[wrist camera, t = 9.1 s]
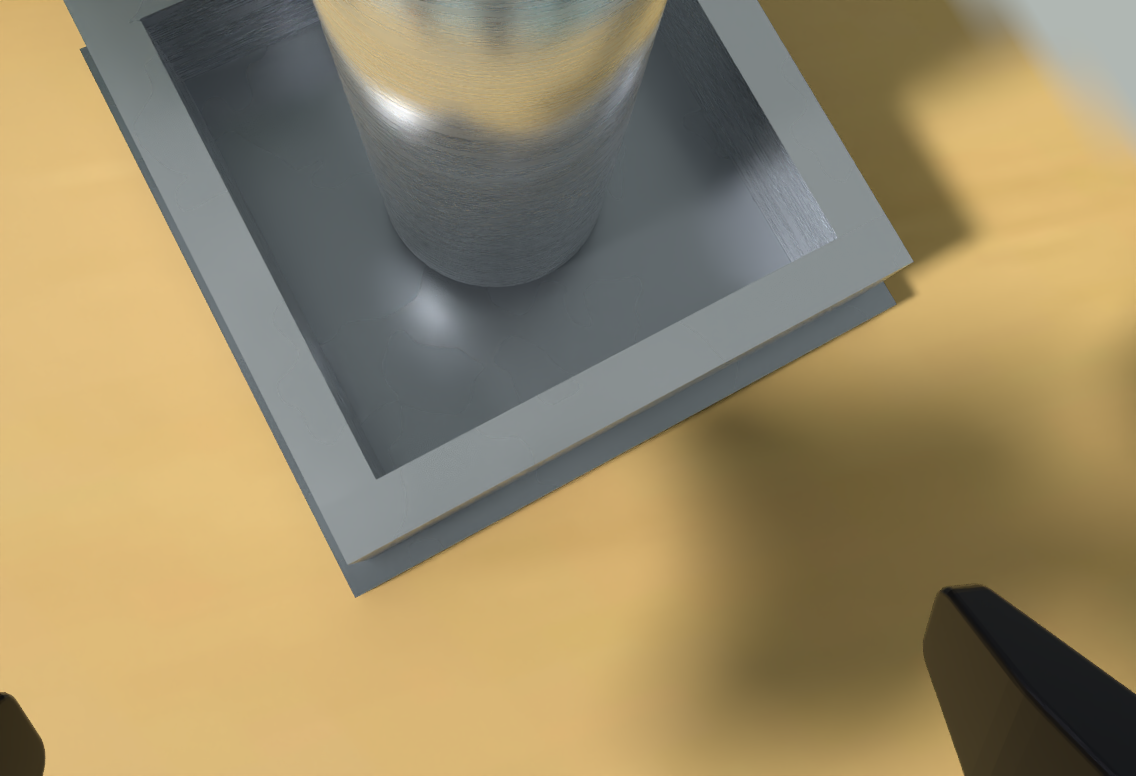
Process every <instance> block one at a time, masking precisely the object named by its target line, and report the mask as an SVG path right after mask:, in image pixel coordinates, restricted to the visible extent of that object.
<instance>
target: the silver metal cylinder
mask: <svg viewBox="0 0 1136 776" xmlns="http://www.w3.org/2000/svg"><path fill="white" fill-rule="evenodd" d="M312 1H313V4H314V6H315V9H316V12H317V15H318V18H319V21H320V23H321V26H322V29H323V32H324V35H325V37H326V40H327V43H328V46H329V49H330V52H331V54H332V57H333V60H334V63H335V66H336V68H337V71H338V74H339V77H340V80H341V83H342V85H343V88H344V91H345V94H346V97H347V99H348V102H349V105H350V108H351V111H352V114H353V116H354V119H355V122H356V125H357V128H358V130H359V133H360V136H361V139H362V142H363V145H364V147H365V150H366V153H367V156H368V159H369V161H370V164H371V167H372V170H373V173H374V176H375V178H376V181H377V184H378V187H379V190H380V192H381V195H382V198H383V201H384V204H385V207H386V209H387V212H388V215H389V217H390V220H391V222H392V224H393V226H394V228H395V230H396V232H397V233H398V235H399V237H400V238H401V239H402V241H403V242H404V243H405V245H406V246H407V247H408V248H409V249H410V250H411V252H412V253H413V254H414V255H415V256H416V257H417V258H419V259H420V260H421V261H422V262H424V263H425V264H426V265H427V266H429V267H430V268H432V269H434V270H435V271H437V272H439V273H440V274H442V275H444V276H447V277H449V278H451V279H454V280H456V281H460V282H463V283H467V284H470V285H477V286H483V287H505V286H514V285H519V284H523V283H528V282H530V281H533V280H536V279H539V278H541V277H543V276H545V275H547V274H549V273H551V272H553V271H555V270H556V269H557V268H559V267H560V266H562V265H563V264H565V263H566V262H567V261H568V260H569V259H570V258H571V257H572V256H574V255H575V254H576V253H577V252H578V250H579V249H580V248H581V247H582V245H583V244H584V243H585V242H586V240H587V238H588V237H589V235H590V234H591V232H592V230H593V228H594V226H595V224H596V221H597V219H598V216H599V213H600V210H601V207H602V204H603V201H604V198H605V194H606V191H607V188H608V185H609V182H610V179H611V176H612V172H613V169H614V166H615V163H616V160H617V157H618V153H619V150H620V147H621V144H622V141H623V138H624V135H625V131H626V128H627V125H628V122H629V119H630V116H631V113H632V109H633V106H634V103H635V100H636V97H637V94H638V91H639V87H640V84H641V81H642V78H643V75H644V72H645V68H646V65H647V62H648V59H649V56H650V53H651V50H652V46H653V43H654V40H655V37H656V34H657V31H658V28H659V24H660V21H661V18H662V15H663V12H664V9H665V6H666V2H667V0H312Z"/></svg>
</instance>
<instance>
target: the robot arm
mask: <svg viewBox="0 0 1136 776" xmlns="http://www.w3.org/2000/svg"><path fill="white" fill-rule="evenodd" d="M923 653H924V658H925V663H926V666H927V669H928V672H929V674H930V677H931V680H932V683H933V686H934V689H935V692H936V695H937V698H938V701H939V703H940V706H941V709H942V712H943V715H944V718H945V721H946V724H947V727H948V729H949V732H950V735H951V738H952V741H953V744H954V747H955V750H956V753H957V755H958V758H959V761H960V764H961V767H962V770H963V773H964V776H1136V694H1135V693H1133V692H1132V691H1131V690H1129V689H1128V688H1126V687H1125V686H1124V685H1122V684H1121V683H1120V682H1118V681H1117V680H1115V679H1114V678H1113V677H1111V676H1110V675H1109V674H1107V673H1106V672H1104V671H1103V670H1102V669H1100V668H1099V667H1097V666H1096V665H1095V664H1093V663H1092V662H1091V661H1089V660H1088V659H1086V658H1085V657H1084V656H1082V655H1081V654H1080V653H1078V652H1077V651H1075V650H1074V649H1073V648H1071V647H1070V646H1068V645H1067V644H1066V643H1064V642H1063V641H1062V640H1060V639H1059V638H1057V637H1056V636H1055V635H1053V634H1052V633H1051V632H1049V631H1048V630H1046V629H1045V628H1044V627H1042V626H1041V625H1039V624H1038V623H1037V622H1035V621H1034V620H1033V619H1031V618H1030V617H1028V616H1027V615H1026V614H1024V613H1023V612H1022V611H1020V610H1019V609H1017V608H1016V607H1015V606H1013V605H1012V604H1010V603H1009V602H1008V601H1006V600H1005V599H1004V598H1002V597H1001V596H999V595H998V594H997V593H995V592H994V591H993V590H991V589H989V588H988V587H986V586H983V585H981V584H966V585H957V586H948V587H944V588H942V589H941V590H940V591H939V592H938V593H937V595H936V598H935V601H934V604H933V608H932V611H931V615H930V618H929V621H928V625H927V628H926V632H925V635H924V640H923ZM44 767H45V749H44V745H43V742H42V739H41V737H40V736H39V734H38V733H37V731H36V730H35V728H34V727H33V725H32V724H31V722H30V720H29V719H28V717H27V716H26V714H25V713H24V711H23V710H22V708H21V707H20V705H19V703H18V702H17V700H16V699H15V698H14V697H13V696H12V695H10V694H8V693H6V692H0V776H43V772H44Z"/></svg>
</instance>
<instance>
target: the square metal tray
mask: <svg viewBox="0 0 1136 776" xmlns="http://www.w3.org/2000/svg"><path fill="white" fill-rule="evenodd" d="M64 2H65V4H66V6H67V8H68V10H69V12H70V14H71V16H72V18H73V20H74V22H75V24H76V26H77V28H78V30H79V32H80V34H81V36H82V38H83V40H84V42H85V44H86V47H84V48H81V49H80V51H81V53H82V55H83V57H84V59H85V61H86V63H87V65H88V67H89V69H90V71H91V73H92V75H93V77H94V79H95V81H96V83H97V85H98V87H99V89H100V91H101V93H102V95H103V97H104V99H105V101H106V103H107V105H108V107H109V109H110V111H111V113H112V115H113V116H114V118H115V120H116V122H117V124H118V126H119V128H120V130H121V132H122V134H123V136H124V138H125V140H126V142H127V144H128V146H129V148H130V150H131V152H132V154H133V156H134V158H135V160H136V162H137V164H138V166H139V168H140V170H141V172H142V174H143V176H144V178H145V180H146V182H147V184H148V186H149V188H150V190H151V192H152V194H153V196H154V198H155V200H156V202H157V204H158V206H159V208H160V210H161V212H162V214H163V216H164V218H165V220H166V222H167V224H168V226H169V228H170V230H171V232H172V234H173V236H174V238H175V240H176V242H177V244H178V246H179V248H180V250H181V252H182V254H183V256H184V258H185V260H186V262H187V264H188V266H189V268H190V270H191V272H192V274H193V276H194V278H195V280H196V282H197V284H198V286H199V288H200V290H201V292H202V294H203V296H204V298H205V300H206V302H207V304H208V306H209V308H210V310H211V312H212V314H213V316H214V318H215V320H216V322H217V324H218V326H219V328H220V330H221V332H222V333H223V335H224V337H225V339H226V341H227V343H228V345H229V347H230V349H231V351H232V353H233V355H234V357H235V359H236V361H237V363H238V365H239V367H240V369H241V371H242V373H243V375H244V377H245V379H246V381H247V383H248V385H249V387H250V389H251V391H252V393H253V395H254V397H255V399H256V401H257V403H258V405H259V407H260V409H261V411H262V413H263V415H264V417H265V419H266V421H267V423H268V425H269V427H270V429H271V431H272V433H273V435H274V437H275V439H276V441H277V443H278V445H279V447H280V449H281V451H282V453H283V455H284V457H285V459H286V461H287V463H288V465H289V467H290V469H291V471H292V473H293V475H294V477H295V479H296V481H297V483H298V485H299V487H300V489H301V491H302V493H303V495H304V497H305V499H306V501H307V503H308V505H309V507H310V509H311V511H312V513H313V515H314V517H315V519H316V521H317V523H318V525H319V527H320V529H321V531H322V533H323V535H324V537H325V539H326V541H327V543H328V545H329V547H330V548H331V550H332V552H333V554H334V556H335V558H336V560H337V562H338V564H339V566H340V568H341V570H342V572H343V574H344V576H345V578H346V580H347V582H348V584H349V586H350V588H351V590H352V592H353V594H354V596H355V598H356V597H358V596H360V595H362V594H364V593H366V592H368V591H369V590H371V589H373V588H375V587H377V586H379V585H381V584H382V583H384V582H386V581H388V580H390V579H392V578H393V577H395V576H397V575H399V574H401V573H403V572H405V571H406V570H408V569H410V568H412V567H414V566H416V565H417V564H419V563H421V562H423V561H425V560H427V559H428V558H430V557H432V556H434V555H436V554H438V553H440V552H441V551H443V550H445V549H447V548H449V547H451V546H452V545H454V544H456V543H458V542H460V541H462V540H464V539H465V538H467V537H469V536H471V535H473V534H475V533H476V532H478V531H480V530H482V529H484V528H486V527H487V526H489V525H491V524H493V523H495V522H497V521H499V520H500V519H502V518H504V517H506V516H508V515H510V514H511V513H513V512H515V511H517V510H519V509H521V508H523V507H524V506H526V505H528V504H530V503H532V502H534V501H535V500H537V499H539V498H541V497H543V496H545V495H546V494H548V493H550V492H552V491H554V490H556V489H558V488H559V487H561V486H563V485H565V484H567V483H569V482H570V481H572V480H574V479H576V478H578V477H580V476H582V475H583V474H585V473H587V472H589V471H591V470H593V469H594V468H596V467H598V466H600V465H602V464H604V463H605V462H607V461H609V460H611V459H613V458H615V457H617V456H618V455H620V454H622V453H624V452H626V451H628V450H629V449H631V448H633V447H635V446H637V445H639V444H641V443H642V442H644V441H646V440H648V439H650V438H652V437H653V436H655V435H657V434H659V433H661V432H663V431H664V430H666V429H668V428H670V427H672V426H674V425H676V424H677V423H679V422H681V421H683V420H685V419H687V418H688V417H690V416H692V415H694V414H696V413H698V412H700V411H701V410H703V409H705V408H707V407H709V406H711V405H712V404H714V403H716V402H718V401H720V400H722V399H723V398H725V397H727V396H729V395H731V394H733V393H735V392H736V391H738V390H740V389H742V388H744V387H746V386H747V385H749V384H751V383H753V382H755V381H757V380H759V379H760V378H762V377H764V376H766V375H768V374H770V373H771V372H773V371H775V370H777V369H779V368H781V367H782V366H784V365H786V364H788V363H790V362H792V361H794V360H795V359H797V358H799V357H801V356H803V355H805V354H806V353H808V352H810V351H812V350H814V349H816V348H818V347H819V346H821V345H823V344H825V343H827V342H829V341H830V340H832V339H834V338H836V337H838V336H840V335H842V334H843V333H845V332H847V331H849V330H851V329H853V328H854V327H856V326H858V325H860V324H862V323H864V322H865V321H867V320H869V319H871V318H873V317H875V316H877V315H878V314H880V313H882V312H884V311H886V310H887V309H889V308H891V307H893V306H894V305H896V302H895V300H894V299H893V297H892V295H891V294H890V292H889V290H888V289H887V287H886V285H885V284H884V282H883V281H884V280H886V279H887V278H889V277H890V276H892V275H894V274H895V273H897V272H898V271H900V270H901V269H903V268H904V267H906V266H908V265H909V264H911V263H912V262H914V261H913V260H912V258H911V256H910V255H909V253H908V251H907V250H906V248H905V246H904V245H903V243H902V241H901V240H900V238H899V236H898V235H897V233H896V231H895V230H894V228H893V226H892V225H891V223H890V221H889V219H888V218H887V216H886V214H885V213H884V211H883V209H882V208H881V206H880V204H879V203H878V201H877V199H876V198H875V196H874V194H873V193H872V191H871V189H870V188H869V186H868V184H867V183H866V181H865V179H864V178H863V176H862V174H861V173H860V171H859V169H858V168H857V166H856V164H855V163H854V161H853V159H852V158H851V156H850V154H849V153H848V151H847V149H846V148H845V146H844V144H843V143H842V141H841V139H840V138H839V136H838V134H837V133H836V131H835V129H834V128H833V126H832V124H831V123H830V121H829V119H828V118H827V116H826V114H825V113H824V111H823V109H822V108H821V106H820V104H819V103H818V101H817V99H816V98H815V96H814V94H813V93H812V91H811V89H810V88H809V86H808V84H807V83H806V81H805V79H804V78H803V76H802V74H801V73H800V71H799V69H798V67H797V66H796V64H795V62H794V61H793V59H792V57H791V56H790V54H789V52H788V51H787V49H786V47H785V46H784V44H783V42H782V41H781V39H780V37H779V36H778V34H777V32H776V31H775V29H774V27H773V26H772V24H771V22H770V21H769V19H768V17H767V16H766V14H765V12H764V11H763V9H762V7H761V6H760V4H759V2H758V1H757V0H667V2H666V6H665V9H664V12H663V15H662V18H661V21H660V24H659V28H658V31H657V34H656V37H655V40H654V43H653V46H652V50H651V53H650V56H649V59H648V62H647V65H646V68H645V72H644V75H643V78H642V81H641V84H640V87H639V91H638V94H637V97H636V100H635V103H634V106H633V109H632V113H631V116H630V119H629V122H628V125H627V128H626V131H625V135H624V138H623V141H622V144H621V147H620V150H619V153H618V157H617V160H616V163H615V166H614V169H613V172H612V176H611V179H610V182H609V185H608V188H607V191H606V194H605V198H604V201H603V204H602V207H601V210H600V213H599V216H598V219H597V221H596V224H595V226H594V228H593V230H592V232H591V234H590V235H589V237H588V238H587V240H586V242H585V243H584V244H583V245H582V247H581V248H580V249H579V250H578V252H577V253H576V254H575V255H574V256H572V257H571V258H570V259H569V260H568V261H567V262H566V263H565V264H563V265H562V266H560V267H559V268H557V269H556V270H555V271H553V272H551V273H549V274H547V275H545V276H543V277H541V278H539V279H536V280H533V281H530V282H528V283H523V284H519V285H514V286H505V287H483V286H477V285H470V284H467V283H463V282H460V281H456V280H454V279H451V278H449V277H447V276H444V275H442V274H440V273H439V272H437V271H435V270H434V269H432V268H430V267H429V266H427V265H426V264H425V263H424V262H422V261H421V260H420V259H419V258H417V257H416V256H415V255H414V254H413V253H412V252H411V250H410V249H409V248H408V247H407V246H406V245H405V243H404V242H403V241H402V239H401V238H400V237H399V235H398V233H397V232H396V230H395V228H394V226H393V224H392V222H391V220H390V217H389V215H388V212H387V209H386V207H385V204H384V201H383V198H382V195H381V192H380V190H379V187H378V184H377V181H376V178H375V176H374V173H373V170H372V167H371V164H370V161H369V159H368V156H367V153H366V150H365V147H364V145H363V142H362V139H361V136H360V133H359V130H358V128H357V125H356V122H355V119H354V116H353V114H352V111H351V108H350V105H349V102H348V99H347V97H346V94H345V91H344V88H343V85H342V83H341V80H340V77H339V74H338V71H337V68H336V66H335V63H334V60H333V57H332V54H331V52H330V49H329V46H328V43H327V40H326V37H325V35H324V32H323V29H322V26H321V23H320V21H319V18H318V15H317V12H316V9H315V6H314V4H313V1H312V0H64Z"/></svg>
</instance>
